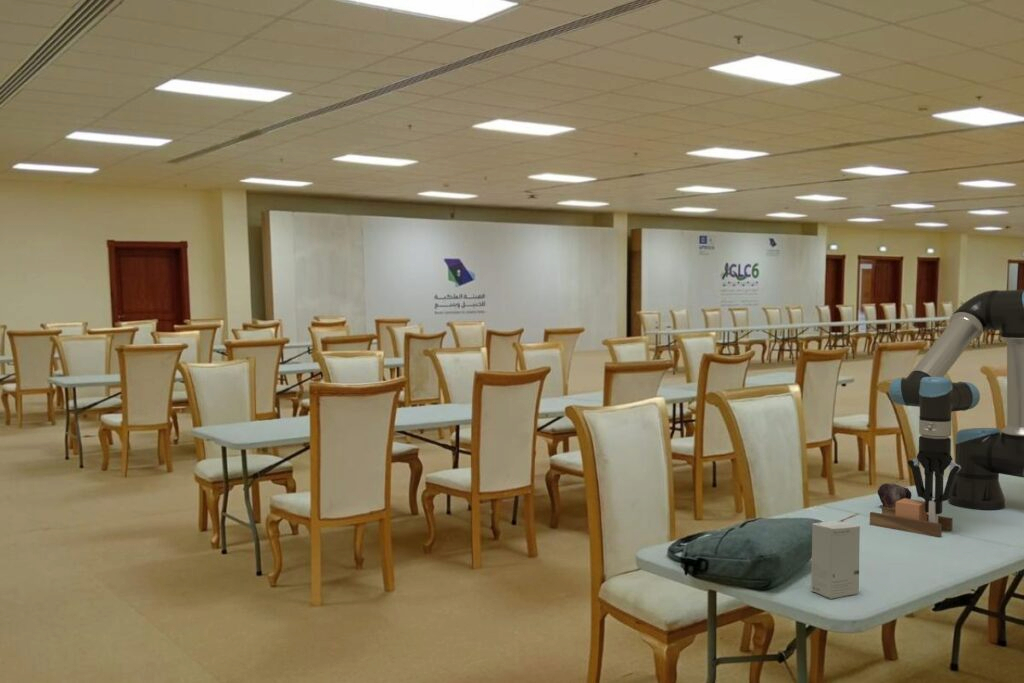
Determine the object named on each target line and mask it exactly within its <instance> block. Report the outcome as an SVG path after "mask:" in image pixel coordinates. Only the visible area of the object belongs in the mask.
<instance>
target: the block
mask: <svg viewBox="0 0 1024 683" xmlns="http://www.w3.org/2000/svg"><path fill="white" fill-rule="evenodd" d="M927 514H928V512H926V511H925V500H918V499H912V498H911V499H906V498H904V499H901V500H899V501H897V502H896V511H895V516H898V517H904V518H910V519H916V520H922V521H927Z"/></svg>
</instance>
